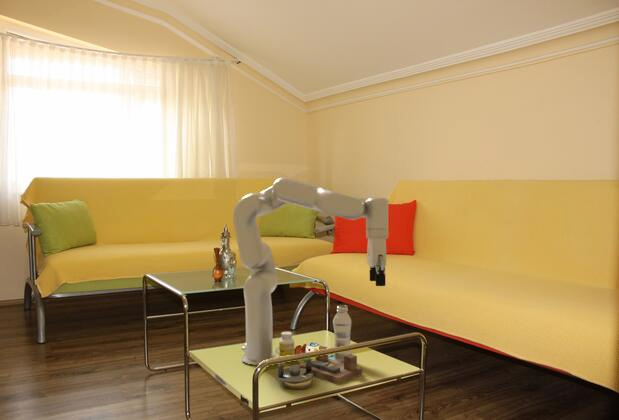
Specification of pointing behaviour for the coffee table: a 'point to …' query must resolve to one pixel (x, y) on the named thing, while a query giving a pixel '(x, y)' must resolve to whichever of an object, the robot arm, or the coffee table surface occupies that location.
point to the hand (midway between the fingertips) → (377, 283)
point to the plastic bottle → (342, 331)
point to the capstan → (296, 376)
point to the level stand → (334, 368)
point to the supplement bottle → (286, 344)
